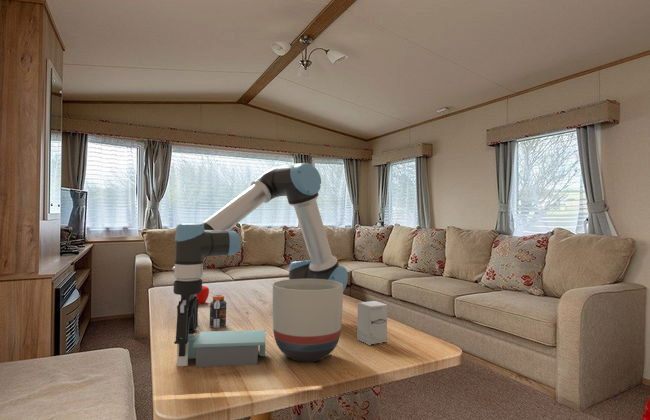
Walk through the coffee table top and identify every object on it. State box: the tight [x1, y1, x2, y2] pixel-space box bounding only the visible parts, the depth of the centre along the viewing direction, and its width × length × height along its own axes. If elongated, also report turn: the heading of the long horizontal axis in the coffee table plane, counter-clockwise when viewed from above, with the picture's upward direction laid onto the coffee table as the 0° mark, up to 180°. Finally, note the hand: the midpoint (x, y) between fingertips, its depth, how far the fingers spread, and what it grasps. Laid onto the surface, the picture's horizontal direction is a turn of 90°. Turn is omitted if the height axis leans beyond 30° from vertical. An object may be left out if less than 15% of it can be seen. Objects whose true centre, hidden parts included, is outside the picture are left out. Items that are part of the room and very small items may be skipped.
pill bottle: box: [209, 294, 227, 329], centre depth 142 cm, size 6×6×11 cm
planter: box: [272, 278, 344, 363], centre depth 110 cm, size 20×20×21 cm
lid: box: [176, 329, 267, 359], centre depth 106 cm, size 24×12×5 cm, turn 98°
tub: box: [195, 345, 260, 368], centre depth 106 cm, size 16×11×6 cm
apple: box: [196, 285, 210, 305], centre depth 180 cm, size 9×9×8 cm
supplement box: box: [356, 300, 388, 346], centre depth 126 cm, size 7×7×13 cm
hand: (185, 362), depth 104 cm, fingers open, 7 cm apart
